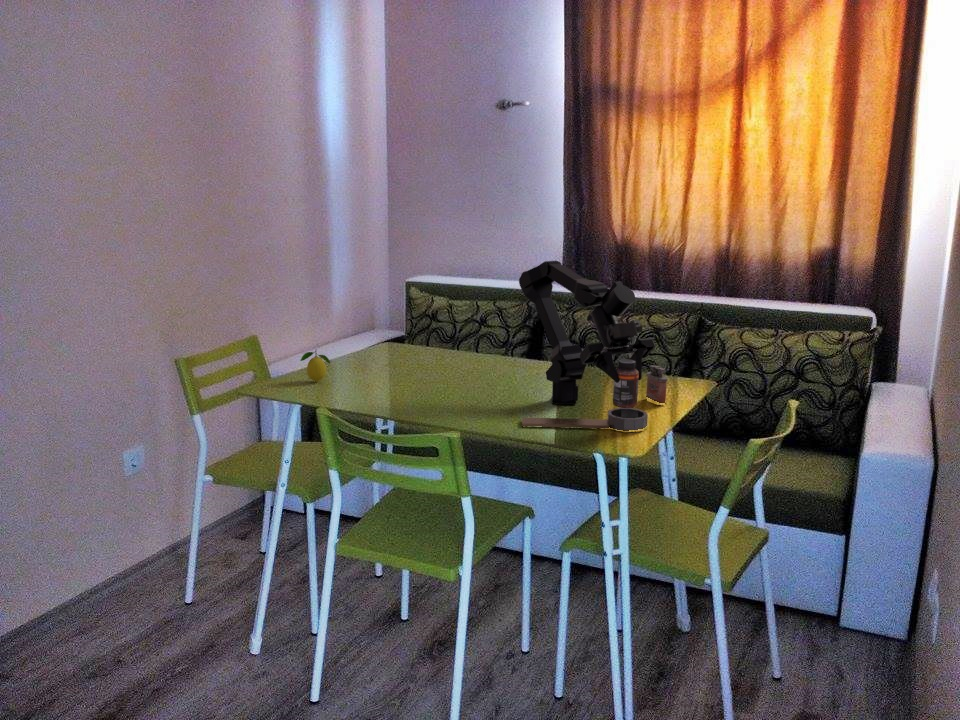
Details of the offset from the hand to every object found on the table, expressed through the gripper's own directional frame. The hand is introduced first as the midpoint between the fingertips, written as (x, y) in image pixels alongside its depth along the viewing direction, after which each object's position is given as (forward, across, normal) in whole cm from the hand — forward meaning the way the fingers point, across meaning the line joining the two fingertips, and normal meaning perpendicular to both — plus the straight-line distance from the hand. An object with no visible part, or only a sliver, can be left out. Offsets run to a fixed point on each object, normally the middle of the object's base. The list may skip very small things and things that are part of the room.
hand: (629, 380), depth 223 cm
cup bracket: (+4, -8, +14) cm, 17 cm away
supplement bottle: (+4, 0, +6) cm, 7 cm away
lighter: (-4, +21, +22) cm, 31 cm away
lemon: (-41, -59, +62) cm, 95 cm away
